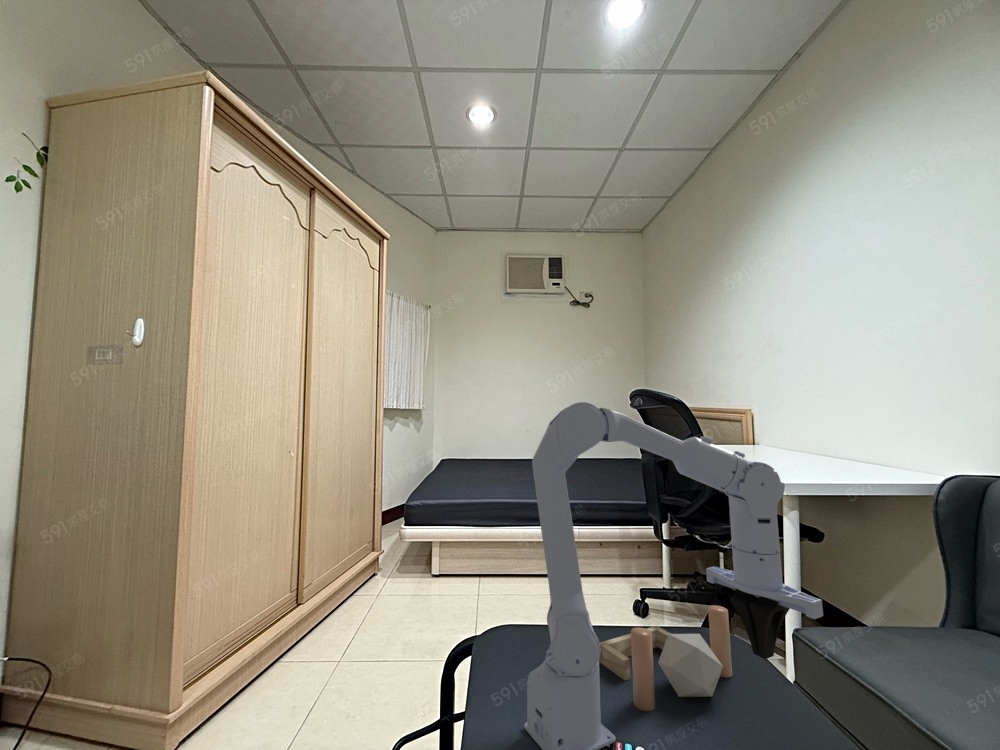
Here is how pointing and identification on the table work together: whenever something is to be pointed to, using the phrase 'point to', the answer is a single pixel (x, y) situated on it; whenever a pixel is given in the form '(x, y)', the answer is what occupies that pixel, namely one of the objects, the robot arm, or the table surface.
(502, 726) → the table surface
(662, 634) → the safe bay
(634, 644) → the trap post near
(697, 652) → the die
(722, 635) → the trap post far
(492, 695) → the table surface
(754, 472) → the robot arm
